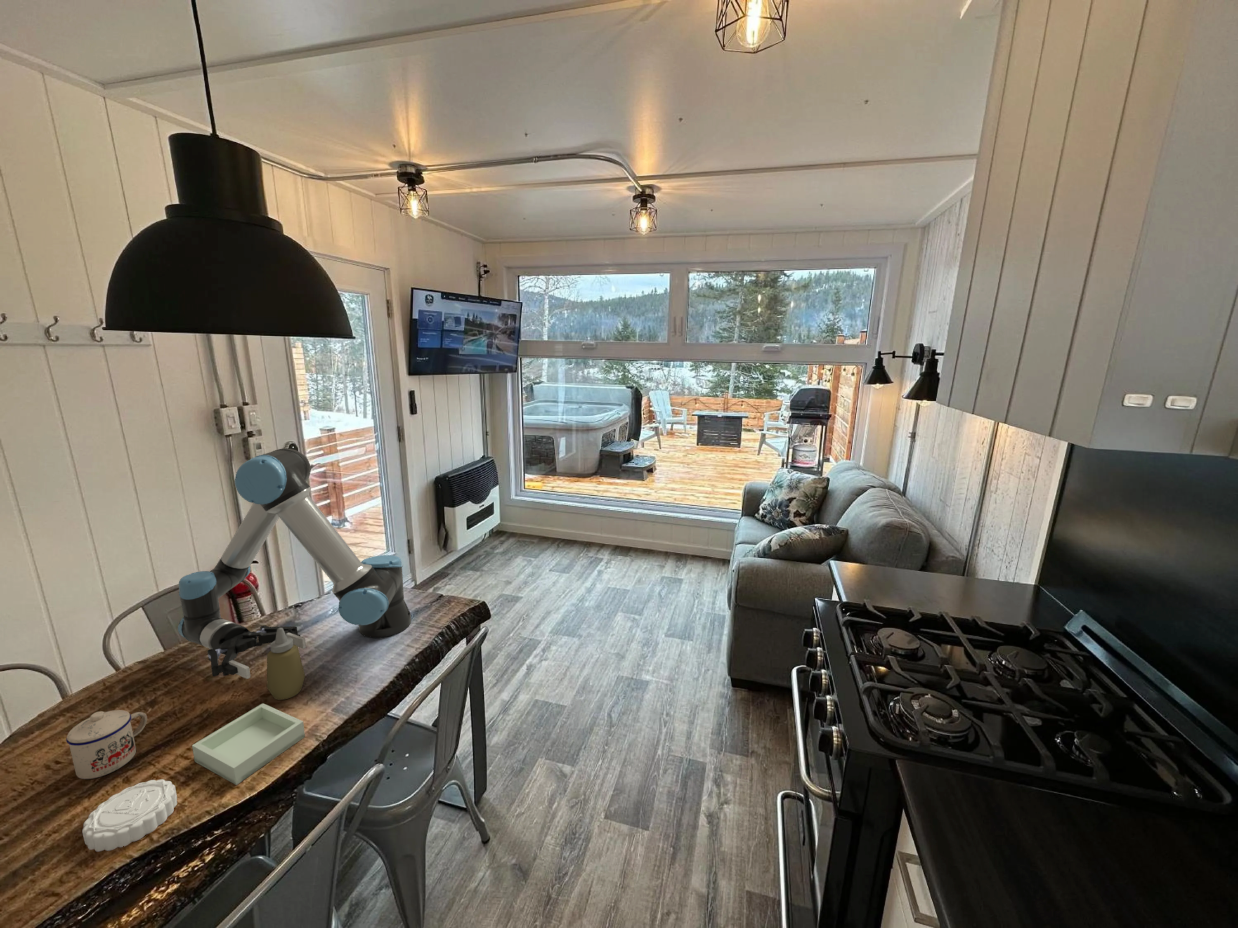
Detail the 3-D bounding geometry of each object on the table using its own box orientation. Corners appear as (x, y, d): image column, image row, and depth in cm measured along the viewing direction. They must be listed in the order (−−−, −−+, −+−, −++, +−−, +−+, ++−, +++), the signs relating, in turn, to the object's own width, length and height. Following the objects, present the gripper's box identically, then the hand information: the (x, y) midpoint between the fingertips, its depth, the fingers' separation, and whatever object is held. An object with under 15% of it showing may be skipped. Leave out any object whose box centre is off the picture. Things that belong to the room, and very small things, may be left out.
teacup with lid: (94, 785, 94) (82, 735, 92) (62, 774, 96) (51, 724, 94) (164, 741, 106) (156, 694, 103) (135, 732, 108) (126, 686, 106)
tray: (264, 717, 113) (262, 703, 112) (305, 736, 108) (303, 721, 107) (194, 761, 101) (191, 745, 100) (236, 784, 95) (233, 767, 95)
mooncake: (194, 793, 94) (192, 778, 93) (131, 854, 82) (127, 837, 81) (136, 789, 94) (132, 774, 93) (64, 850, 82) (59, 833, 82)
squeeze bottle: (260, 698, 120) (251, 633, 116) (291, 679, 127) (284, 617, 123) (283, 707, 117) (274, 640, 113) (313, 687, 124) (307, 624, 121)
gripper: (275, 627, 140) (325, 645, 132) (170, 676, 118) (223, 701, 110) (272, 603, 139) (323, 620, 131) (165, 648, 116) (218, 672, 108)
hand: (277, 657), depth 120 cm, fingers open, 13 cm apart
